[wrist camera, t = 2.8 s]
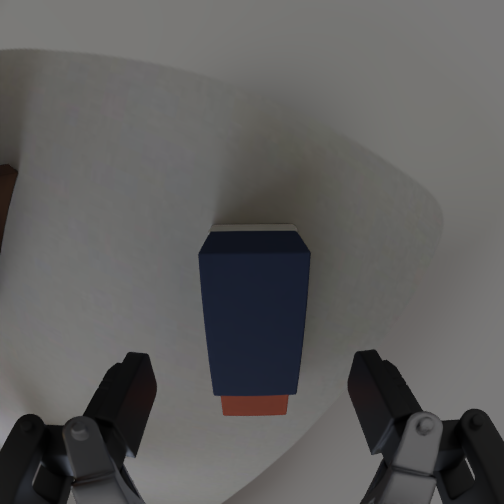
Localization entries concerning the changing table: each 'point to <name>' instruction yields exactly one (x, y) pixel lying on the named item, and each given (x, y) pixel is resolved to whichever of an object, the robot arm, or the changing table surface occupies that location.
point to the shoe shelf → (5, 193)
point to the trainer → (254, 314)
